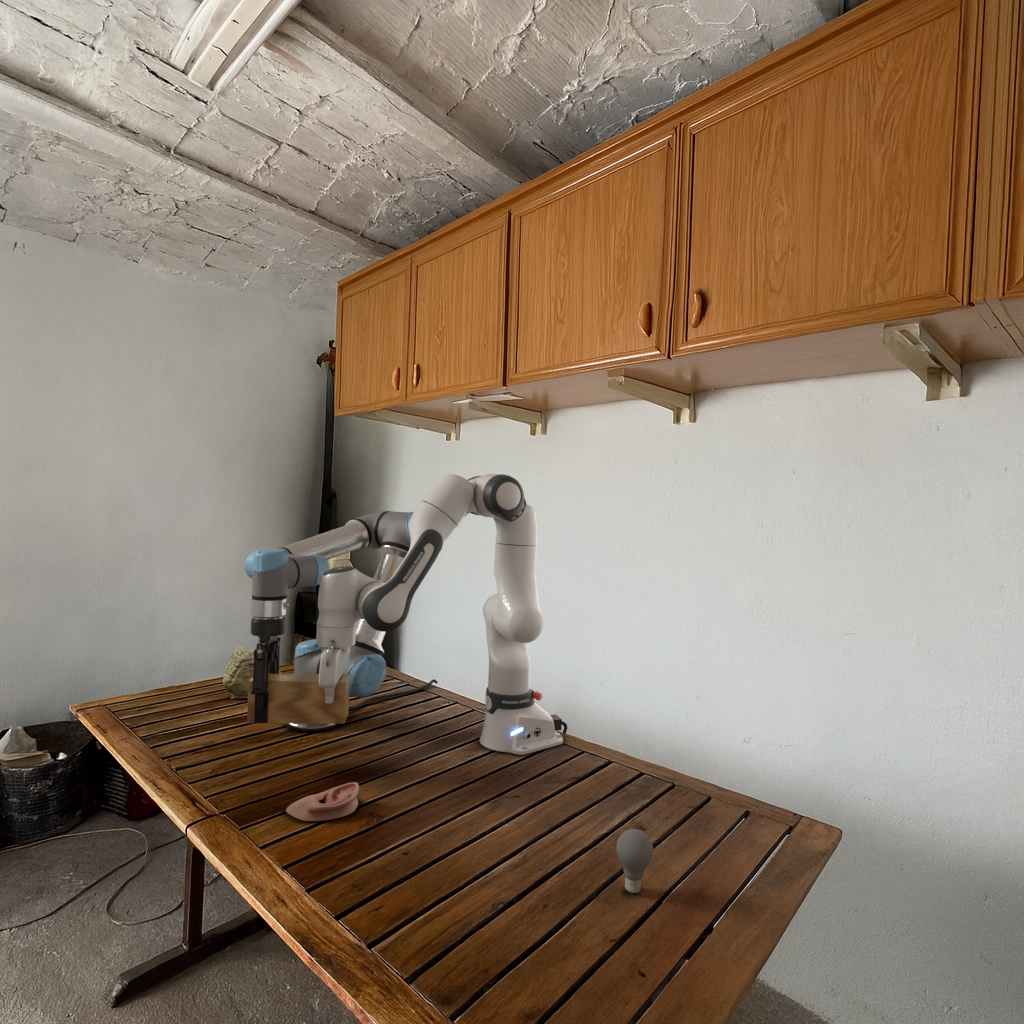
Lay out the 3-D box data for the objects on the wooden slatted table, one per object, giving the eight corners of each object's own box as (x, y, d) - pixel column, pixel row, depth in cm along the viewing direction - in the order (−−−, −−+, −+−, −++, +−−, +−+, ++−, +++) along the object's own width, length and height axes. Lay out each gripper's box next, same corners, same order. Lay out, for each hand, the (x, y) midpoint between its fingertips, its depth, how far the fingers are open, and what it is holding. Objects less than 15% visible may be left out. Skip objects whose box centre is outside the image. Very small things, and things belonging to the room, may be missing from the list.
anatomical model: (278, 797, 124) (308, 772, 135) (277, 817, 124) (307, 791, 136) (340, 806, 122) (366, 781, 133) (339, 827, 122) (365, 799, 133)
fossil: (218, 695, 195) (220, 647, 195) (278, 685, 208) (279, 640, 207) (228, 703, 189) (230, 653, 188) (289, 692, 201) (290, 645, 201)
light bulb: (610, 879, 108) (613, 822, 108) (644, 879, 109) (647, 822, 109) (619, 902, 102) (622, 840, 102) (655, 901, 103) (658, 840, 103)
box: (247, 723, 142) (248, 680, 142) (255, 713, 148) (256, 673, 148) (344, 723, 144) (345, 681, 144) (348, 714, 151) (349, 674, 151)
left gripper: (274, 625, 136) (270, 732, 136) (295, 609, 155) (291, 703, 156) (238, 624, 135) (234, 732, 136) (263, 609, 154) (260, 703, 155)
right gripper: (343, 647, 137) (339, 711, 137) (355, 628, 157) (353, 683, 157) (313, 646, 136) (309, 710, 136) (329, 627, 156) (327, 683, 157)
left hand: (265, 716), depth 146 cm, fingers closed on box, 6 cm apart
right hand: (333, 695), depth 147 cm, fingers open, 8 cm apart
